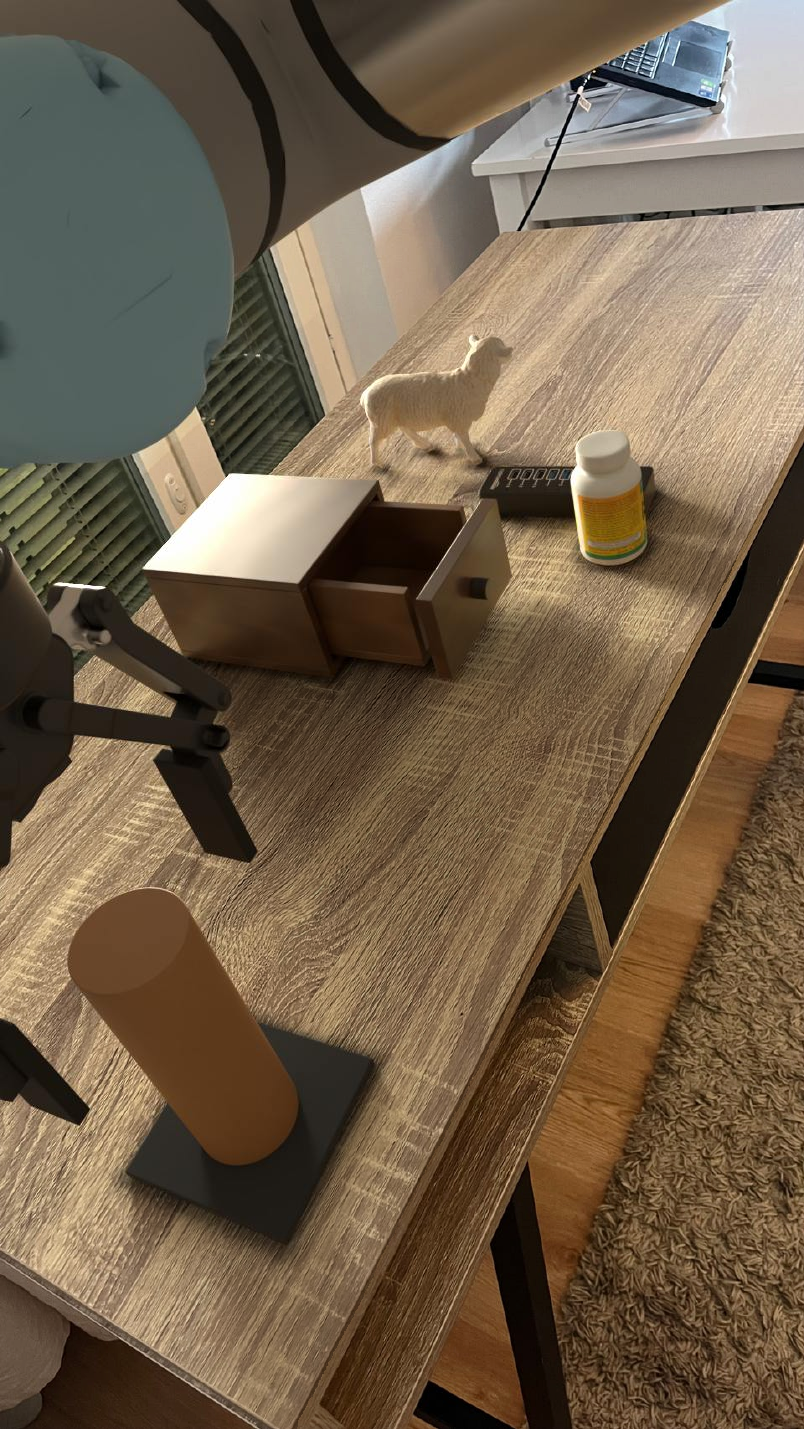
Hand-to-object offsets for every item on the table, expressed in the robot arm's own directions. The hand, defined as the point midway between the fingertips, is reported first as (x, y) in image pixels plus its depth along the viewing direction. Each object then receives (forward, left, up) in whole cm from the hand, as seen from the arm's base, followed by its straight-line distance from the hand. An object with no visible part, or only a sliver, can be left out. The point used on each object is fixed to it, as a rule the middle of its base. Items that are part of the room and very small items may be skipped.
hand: (153, 969), depth 48 cm
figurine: (+16, -65, -15) cm, 69 cm away
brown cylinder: (0, 0, -14) cm, 14 cm away
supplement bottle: (-4, -52, -15) cm, 54 cm away
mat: (0, 0, -14) cm, 14 cm away
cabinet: (+20, -40, -14) cm, 47 cm away
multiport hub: (+2, -58, -15) cm, 60 cm away
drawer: (+9, -40, -13) cm, 43 cm away
